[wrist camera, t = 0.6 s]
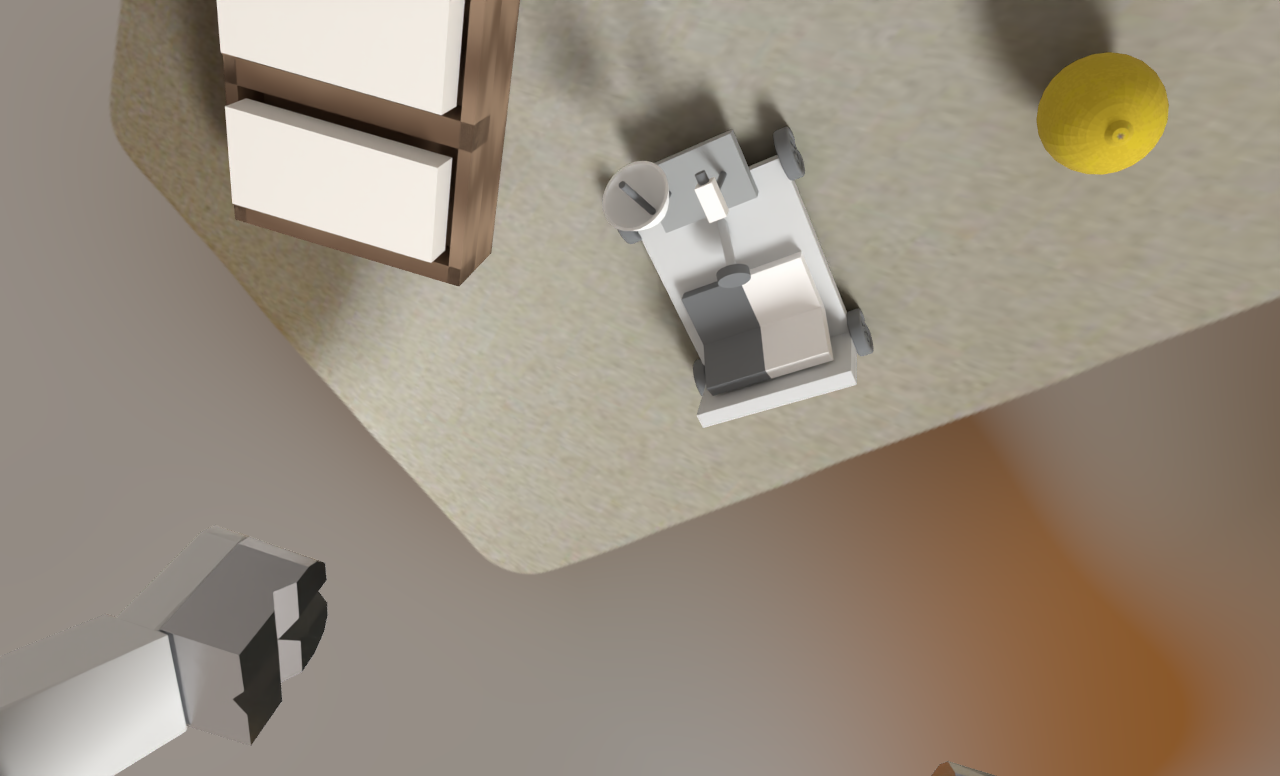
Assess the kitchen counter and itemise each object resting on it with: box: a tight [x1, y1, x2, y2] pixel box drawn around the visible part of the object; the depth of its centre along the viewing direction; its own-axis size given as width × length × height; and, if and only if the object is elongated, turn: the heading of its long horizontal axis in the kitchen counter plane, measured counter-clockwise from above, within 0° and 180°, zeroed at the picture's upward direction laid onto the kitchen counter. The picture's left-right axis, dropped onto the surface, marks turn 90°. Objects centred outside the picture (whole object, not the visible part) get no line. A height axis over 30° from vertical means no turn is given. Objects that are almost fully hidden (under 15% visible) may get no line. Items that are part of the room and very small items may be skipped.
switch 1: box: [217, 0, 465, 115], centre depth 44 cm, size 6×13×2 cm, turn 78°
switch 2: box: [225, 98, 452, 263], centre depth 49 cm, size 6×13×2 cm, turn 78°
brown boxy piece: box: [222, 0, 520, 286], centre depth 47 cm, size 28×16×6 cm, turn 168°
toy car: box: [602, 127, 873, 428], centre depth 49 cm, size 18×10×12 cm
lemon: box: [1037, 52, 1169, 174], centre depth 41 cm, size 6×6×8 cm
